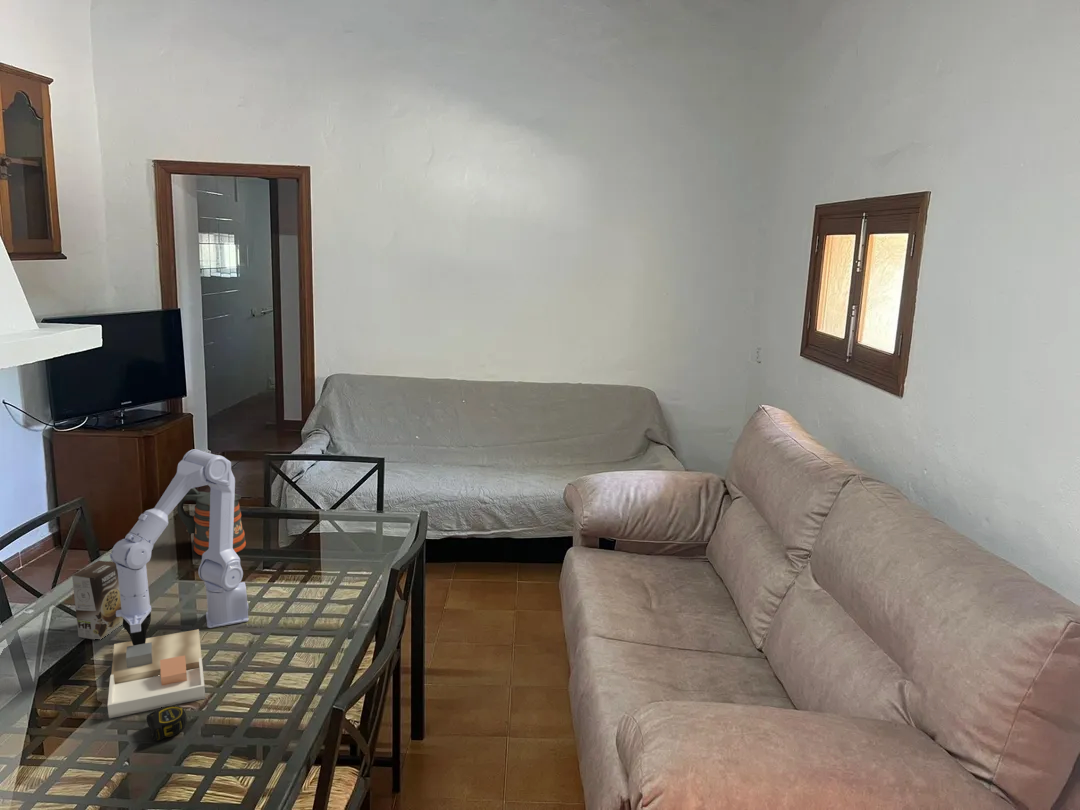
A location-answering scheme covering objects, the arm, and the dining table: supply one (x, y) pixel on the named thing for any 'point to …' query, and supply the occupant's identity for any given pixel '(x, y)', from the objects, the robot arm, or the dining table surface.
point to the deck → (157, 655)
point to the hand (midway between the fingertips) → (139, 646)
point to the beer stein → (208, 521)
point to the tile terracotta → (173, 670)
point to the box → (154, 693)
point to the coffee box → (97, 600)
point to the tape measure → (166, 722)
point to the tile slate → (139, 655)
